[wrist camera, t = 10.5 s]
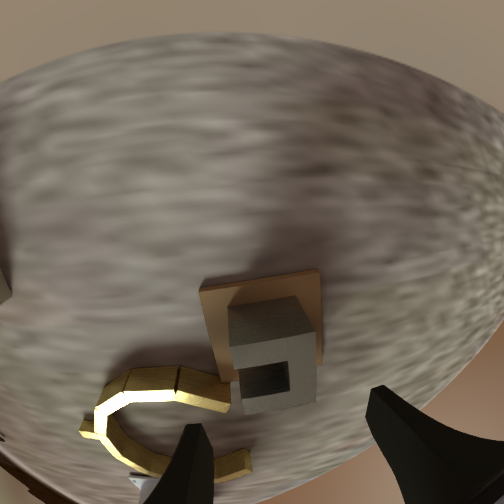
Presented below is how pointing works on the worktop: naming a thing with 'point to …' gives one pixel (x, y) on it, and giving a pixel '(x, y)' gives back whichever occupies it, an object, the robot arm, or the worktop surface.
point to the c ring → (161, 389)
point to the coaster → (257, 290)
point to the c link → (273, 354)
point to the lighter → (4, 289)
